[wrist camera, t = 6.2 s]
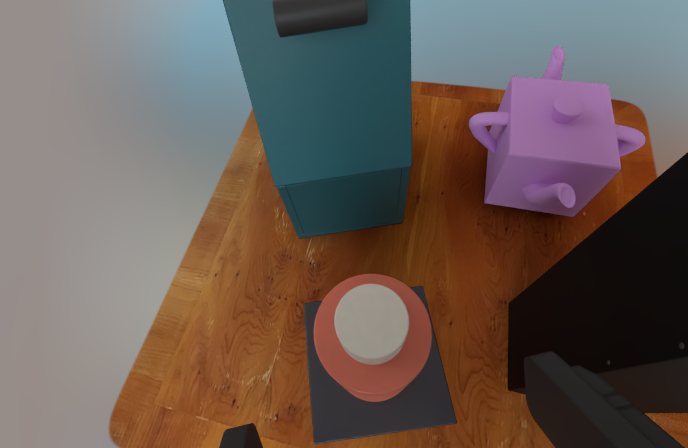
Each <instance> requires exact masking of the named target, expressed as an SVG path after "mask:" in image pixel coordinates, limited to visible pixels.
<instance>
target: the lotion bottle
mask: <svg viewBox="0 0 688 448" xmlns="http://www.w3.org/2000/svg"><path fill="white" fill-rule="evenodd" d="M314 343H315V348H316V352H317V355H318V357H319V359H320V361H321V363H322V365H323V367H324V368H325V370H326V371H327V372H328V373H329V375H330V376H331V377H332V378H333V379H334V380H335V381H337V382H338V383H339V384H340V385H341V386H342V387H344V388H345V389H346V390H347V391H348V392H349V393H351V394H352V395H354V396H355V397H357V398H359V399H362V400H365V401H369V402H380V401H385V400H388V399H390V398H392V397H394V396H396V395H397V394H398V393H400V392H401V391H402V390H403V389H404V388H405V387H406V386H407V385H408V384H409V383H410V382H411V381H412V380H413V379H414V378H415V377H416V376H417V375H418V374H419V373H420V371H421V370H422V368H423V367H424V365H425V363H426V361H427V359H428V356H429V353H430V349H431V344H432V327H431V322H430V318H429V315H428V312H427V310H426V308H425V306H424V304H423V303H422V301H421V299H420V298H419V297H418V296H417V294H416V293H415V292H414V291H413V290H412V289H411V288H409V287H408V286H407V285H405V284H404V283H402V282H401V281H399V280H397V279H395V278H392V277H389V276H386V275H381V274H362V275H357V276H354V277H351V278H348V279H346V280H344V281H342V282H341V283H339V284H338V285H337V286H335V287H334V288H333V289H332V290H331V291H330V292H329V293H328V294H327V295H326V297H325V298H324V300H323V301H322V303H321V305H320V307H319V309H318V312H317V314H316V318H315V322H314Z"/></svg>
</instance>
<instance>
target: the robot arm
mask: <svg viewBox="0 0 688 448" xmlns="http://www.w3.org/2000/svg"><path fill="white" fill-rule="evenodd" d="M524 375H525V388H526V400H527V404H528V407H529V410H530V412H531V414H532V416H533V418H534V420H535V421H536V423H537V424H538V426H539V427H540V428H541V429H542V431H543V432H544V433H545V435H546V436H547V437H548V438H549V440H550V441H551V442H552V444H553V445H554V446H555V447H556V448H684V447H683V446H682V445H681V444H680V443H678V442H677V441H676V440H675V439H674V438H673V437H671V436H670V435H669V434H668V433H667V432H665V431H664V430H663V429H662V428H661V427H660V426H658V425H657V424H656V423H655V422H654V421H652V420H651V419H650V418H649V417H648V416H647V415H645V414H644V413H643V412H642V411H641V410H639V409H638V408H637V407H634V406H633V404H632V403H631V402H630V401H629V400H628V399H626V398H625V397H624V396H623V395H622V394H619V393H618V391H617V390H616V389H615V388H613V387H612V386H611V385H610V384H609V383H607V382H606V381H605V380H604V379H603V378H602V377H600V376H599V375H597V374H595V373H593V372H591V371H589V370H587V369H585V368H583V367H581V366H579V365H577V366H573V367H570V366H569V365H568V364H567V363H566V362H565V361H564V360H562V359H561V358H560V357H559V356H558V355H557V354H556V353H554V352H552V351H549V352H545V353H541V354H537V355H533V356H529V357H525V358H524ZM219 448H263V446H262V444H261V441H260V438H259V435H258V432H257V429H256V427H255V425H254V424H253V423H251V424H247V425H243V426H239V427H235V428H230V429H227V430H226V431H225V432H224V434H223V437H222V441H221V444H220V447H219Z"/></svg>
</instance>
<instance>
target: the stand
mask: <svg viewBox="0 0 688 448" xmlns="http://www.w3.org/2000/svg"><path fill="white" fill-rule="evenodd" d="M410 288H411V289H412V290H413V291H414V292H415V293H416V294H417V296H418V297H419V298H420V299H421V301H422V303H423V304H424V306H425V308H426V310H427V312H428V315H429V318H430V322H431V327H432V344H431V349H430V353H429V356H428V359H427V361H426V363H425V365H424V367H423V368H422V370H421V371H420V373H419V374H418V375H417V376H416V377H415V378H414V379H413V380H412V381H411V382H410V383H409V384H408V385H407V386H406V387H405V388H404V389H403V390H402V391H401V392H400V393H398V394H397V395H396V396H394V397H392V398H390V399H388V400H385V401H380V402H369V401H365V400H362V399H359V398H357V397H355V396H354V395H352V394H351V393H349V392H348V391H347V390H346V389H345V388H344V387H342V386H341V385H340V384H339V383H338V382H337V381H335V380H334V379H333V378H332V377H331V376H330V375H329V373H328V372H327V371H326V370H325V368H324V367H323V365H322V363H321V361H320V359H319V357H318V355H317V352H316V348H315V343H314V322H315V318H316V314H317V312H318V309H319V307H320V305H321V303H322V301H317V302H310V303H304V313H305V327H306V341H307V355H308V369H309V383H310V397H311V411H312V425H313V439H314V444H320V443H327V442H334V441H340V440H347V439H354V438H361V437H368V436H375V435H381V434H388V433H395V432H402V431H409V430H416V429H422V428H429V427H436V426H443V425H450V424H456V423H457V421H456V417H455V413H454V409H453V405H452V401H451V397H450V393H449V389H448V385H447V381H446V377H445V373H444V369H443V365H442V361H441V357H440V353H439V349H438V345H437V341H436V337H435V333H434V329H433V325H432V321H431V317H430V313H429V309H428V305H427V301H426V297H425V293H424V289H423V286H417V287H410Z"/></svg>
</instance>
